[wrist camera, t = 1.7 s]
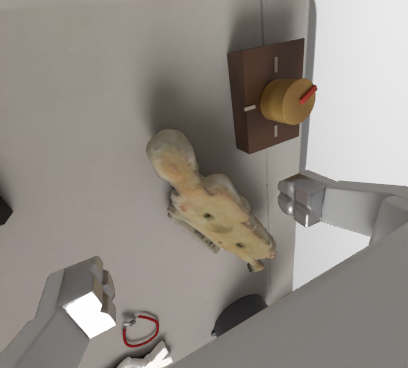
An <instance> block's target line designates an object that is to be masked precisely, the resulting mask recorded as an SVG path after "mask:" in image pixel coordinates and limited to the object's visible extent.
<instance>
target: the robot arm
mask: <svg viewBox="0 0 408 368" xmlns="http://www.w3.org/2000/svg"><path fill="white" fill-rule="evenodd" d="M278 190H279V191H280V194H279V196H278V204H279V206H280V209H281V210H282V211H283V212H284V213H286V214H287V215H291V216H294V220H296V221H297V222H298V223H300V224H301V225H303V226H304V227H306V228H307V227H309V226H311V225H313V224H316V223H318V222H320V221H321V222H323V223H327V224H330V225H333V226H337V227H340V228H343V229H347V230H350V231H353V232H357V233H360V234H363V235H367V236H370V237H371V239H370V242H369V246H367V247H366V248H364V249H362V250H361V251H359V252H357V253H356V254H354V255H352V256H351V257H349V258H347V259H346V260H344V261H343V262H341V263H339V264H338V265H336V266H334V267H333V268H331V269H329V270H328V271H326V272H324V273H323V274H321V275H319V276H318V277H316V278H314V279H313V280H311V281H310V282H308V283H306V284H305V285H303V286H301V287H300V288H298V289H296V290H295V291H293V292H291V293H290V294H288V295H286V296H285V297H283V298H282V299H280V300H278V301H277V302H275V303H273V304H272V305H270V306H268V307H267V308H265V309H263V310H262V311H260V312H259V313H257V314H255V315H254V316H252V317H250V318H249V319H247V320H245V321H244V322H242V323H240V324H239V325H237V326H236V327H234V328H232V329H231V330H229V331H227V332H226V333H224V334H222V335H221V336H219V337H217V338H216V339H214V340H212V341H211V342H209V343H208V344H206V345H204V346H203V347H201V348H199V349H198V350H196V351H194V352H193V353H191V354H189V355H188V356H186V357H185V358H183V359H181V360H180V361H178V362H176V363H175V364H173V365H171V366H170V367H168V368H408V187H406V186H397V185H384V184H373V183H361V182H348V181H338V182H337V181H334V180H332V179H329V178H327V177H324V176H321V175H319V174H317V173H314V172H311V171H309V170H304V171H302V172H300V173H298V174H296V175H294V176H291V177H289V178H287V179H284V180H282V181H279V184H278ZM114 297H115V288H114V284H113V280H112V278H111V275H110V274H109V272H108V271H106V270H103V262H102V261H101V259H100V258H99V257H98V256H95V257H92V258H90V259H87V260H85V261H82V262H79V263H77V264H74V265H72V266H69V267H67V268H64V269H62V270H59V271H57V272H54V273H52V274H50V275H49V276H48V278H47V281H46V284H45V287H44V290H43V293H42V296H41V299H40V302H39V305H38V309H37V312H36V315H35V318H34V319H33V320H31V321H29V322H28V323H27V324H26V325H25V326H24V327H23V329H22V330H21V331H20V332H19V333H18V334H17V335H16V337H15V338H14V339H13V340H12V341H11V342H10V344H9V345H8V346H7V347H6V348H5V349H4V351H3V352H2V353H1V354H0V368H77V367H78V365H79V363H80V361H81V358H82V356H83V354H84V352H85V350H86V348H87V346H88V343H89V341H90V340H89V339H90V338H92V337H94V336H96V335H98V334H100V333H102V332H103V331H105V330H107V329H109V328H111V327H113V326H114V325H116V309H115V305H114V304H113V302H112V300H113V298H114Z"/></svg>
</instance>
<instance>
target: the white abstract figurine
mask: <svg viewBox="0 0 408 368" xmlns="http://www.w3.org/2000/svg"><path fill="white" fill-rule="evenodd" d="M170 363H172V358H171V355H170V353H169V351H168V350H167V348H166V345H165V343H164V341H160V342H159V343H158V344H157V345H156V347H155V348H154V349H153V350H152V352H151V353H150V354H147V355H146V356H145V357H144V358H143V359H136V358H130V357H127V358H126V359H124V360H123V361H122V362H121V363H120V364H119V365H118V367H117V368H162V367H164V366H166V365H168V364H170Z"/></svg>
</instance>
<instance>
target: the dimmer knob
mask: <svg viewBox="0 0 408 368" xmlns="http://www.w3.org/2000/svg"><path fill="white" fill-rule="evenodd" d="M316 90H317V87H316V85H313V83H312V82H311V81H310V80H308V79H305V78H297V79H276V80H273V81H271V82H270V83H269V84H268V85H267V86H266V87H265V89H264V91H263V93H262V95H261V99H260V108H261V112H262V114H263V116H264V117H265V118H266V119H268V120H272V121H277V122H281V123H286V124H291V125H296V124H299V123H301V122H303V121H304V120H305V119H306V118H307V117H308V116H309V114H310V113H311V111H312V108H313V106H314V103H315V91H316Z"/></svg>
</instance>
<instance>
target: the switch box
mask: <svg viewBox="0 0 408 368" xmlns="http://www.w3.org/2000/svg"><path fill="white" fill-rule="evenodd" d="M12 213H13V211H12V210H11V209H10V207H9V206H8V205H7V204H6V203H5V201H4V200H3V199H2V198H1V197H0V226H1V225H4V224H5V223H6V221H7V220H8V218H9V217H10V216H11V214H12Z"/></svg>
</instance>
